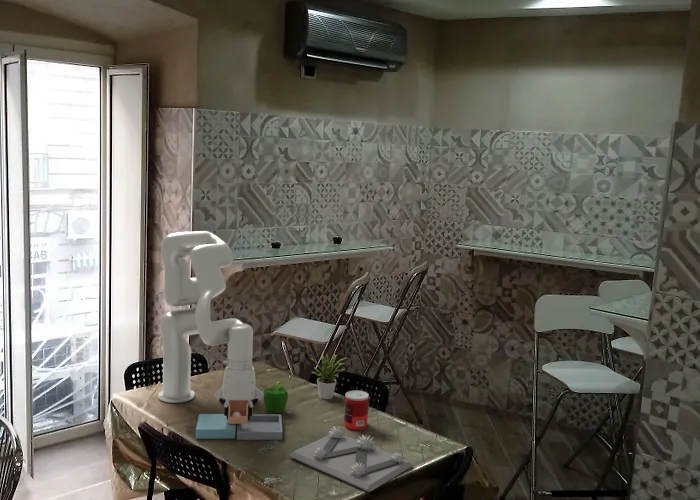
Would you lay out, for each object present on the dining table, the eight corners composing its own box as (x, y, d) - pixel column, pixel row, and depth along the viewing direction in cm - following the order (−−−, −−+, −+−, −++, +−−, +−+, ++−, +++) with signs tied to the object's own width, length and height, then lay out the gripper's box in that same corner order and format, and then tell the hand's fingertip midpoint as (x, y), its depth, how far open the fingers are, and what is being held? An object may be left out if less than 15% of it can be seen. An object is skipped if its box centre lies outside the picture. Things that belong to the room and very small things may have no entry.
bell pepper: (276, 417, 226) (277, 389, 224) (258, 411, 230) (259, 383, 229) (292, 410, 232) (293, 383, 231) (275, 404, 237) (276, 377, 236)
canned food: (370, 424, 224) (372, 393, 222) (361, 433, 217) (362, 400, 215) (350, 419, 227) (351, 388, 226) (339, 427, 220) (341, 395, 218)
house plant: (356, 398, 247) (358, 355, 245) (330, 407, 237) (333, 363, 234) (328, 387, 256) (330, 346, 254) (302, 396, 246) (304, 353, 244)
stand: (199, 422, 218) (199, 414, 218) (236, 422, 220) (236, 414, 219) (195, 438, 206) (195, 429, 206) (235, 438, 208) (235, 429, 208)
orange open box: (229, 416, 216) (229, 396, 215) (248, 416, 217) (248, 396, 216) (228, 423, 210) (228, 403, 209) (247, 423, 211) (248, 404, 210)
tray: (238, 421, 221) (238, 414, 220) (280, 421, 223) (281, 414, 222) (236, 439, 207) (236, 432, 207) (282, 439, 209) (282, 432, 209)
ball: (243, 413, 215) (237, 421, 215) (235, 408, 214) (229, 415, 214) (243, 417, 212) (237, 425, 212) (235, 411, 211) (228, 419, 211)
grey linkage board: (287, 459, 197) (288, 436, 196) (334, 437, 214) (335, 416, 212) (369, 496, 179) (371, 471, 177) (413, 468, 195) (415, 445, 194)
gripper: (211, 367, 206) (209, 422, 208) (267, 367, 208) (265, 422, 211) (212, 359, 213) (211, 413, 216) (267, 360, 215) (265, 413, 218)
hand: (238, 417), depth 213 cm, fingers closed on orange open box, 6 cm apart
